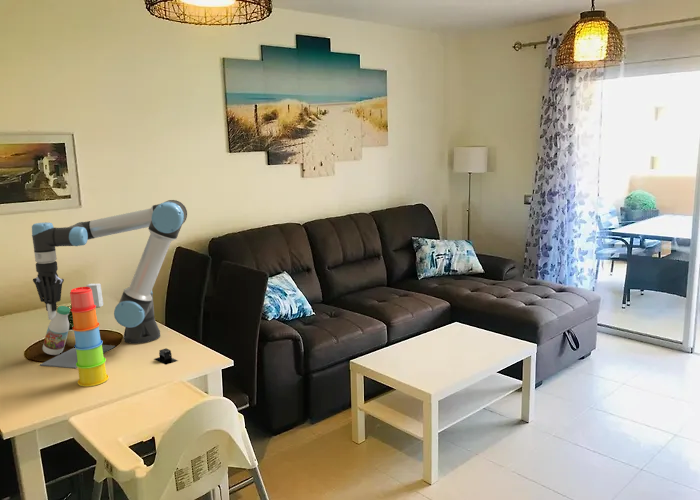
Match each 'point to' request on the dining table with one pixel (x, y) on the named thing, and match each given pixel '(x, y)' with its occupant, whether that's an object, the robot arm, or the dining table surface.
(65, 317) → the milk bottle
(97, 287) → the skincare box
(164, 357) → the black block on base
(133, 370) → the dining table surface
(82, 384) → the stacking cups
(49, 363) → the slate mat
